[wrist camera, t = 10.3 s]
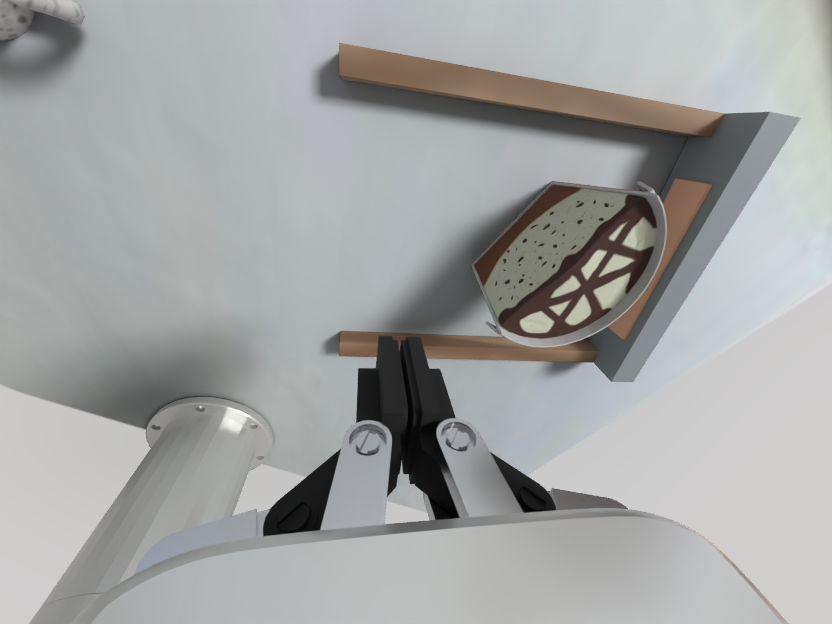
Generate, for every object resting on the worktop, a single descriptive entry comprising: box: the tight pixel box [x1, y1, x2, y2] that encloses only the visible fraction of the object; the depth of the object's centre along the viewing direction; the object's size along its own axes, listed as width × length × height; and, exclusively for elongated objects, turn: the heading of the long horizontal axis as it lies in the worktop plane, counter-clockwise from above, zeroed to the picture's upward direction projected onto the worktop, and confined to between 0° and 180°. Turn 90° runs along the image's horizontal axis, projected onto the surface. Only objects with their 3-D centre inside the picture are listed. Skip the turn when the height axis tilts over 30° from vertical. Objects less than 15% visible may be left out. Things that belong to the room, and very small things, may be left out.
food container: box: [471, 181, 667, 347], centre depth 24 cm, size 12×6×10 cm, turn 139°
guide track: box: [339, 43, 724, 362], centre depth 27 cm, size 23×27×2 cm
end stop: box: [588, 112, 801, 382], centre depth 28 cm, size 23×3×5 cm, turn 173°
